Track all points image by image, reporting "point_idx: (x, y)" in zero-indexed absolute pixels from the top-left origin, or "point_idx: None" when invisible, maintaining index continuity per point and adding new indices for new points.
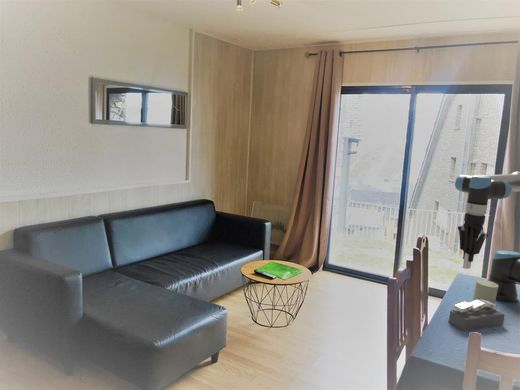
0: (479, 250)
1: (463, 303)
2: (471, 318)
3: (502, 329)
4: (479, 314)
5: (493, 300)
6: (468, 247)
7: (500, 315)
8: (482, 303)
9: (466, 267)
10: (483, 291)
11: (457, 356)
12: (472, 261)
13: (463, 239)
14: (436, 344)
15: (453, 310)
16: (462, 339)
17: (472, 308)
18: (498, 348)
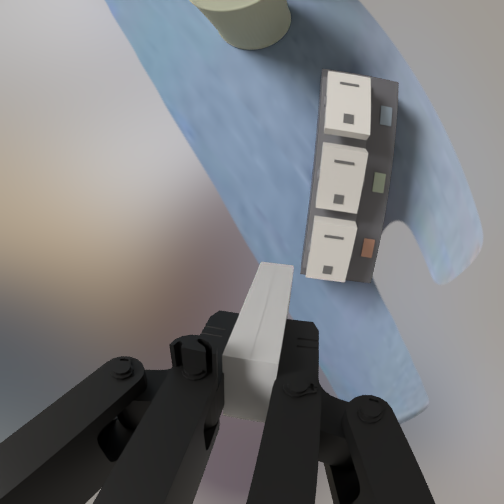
0: (403, 458)
1: (322, 242)
2: (374, 256)
3: (406, 123)
4: (367, 189)
5: (286, 1)
6: (199, 448)
7: (396, 104)
8: (360, 160)
9: (287, 317)
10: (253, 18)
11: (413, 380)
12: (314, 324)
13: (65, 496)
14: (364, 384)
15: (306, 266)
16: (387, 313)
17: (355, 224)
18: (457, 262)
